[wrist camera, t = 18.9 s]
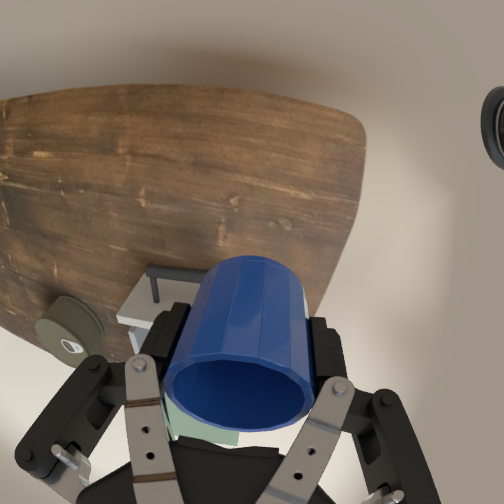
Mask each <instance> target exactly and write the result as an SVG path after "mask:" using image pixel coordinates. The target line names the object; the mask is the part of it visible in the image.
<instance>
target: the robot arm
mask: <svg viewBox="0 0 504 504" xmlns="http://www.w3.org/2000/svg"><path fill="white" fill-rule="evenodd" d="M493 132H494V138H495V143H496V146H497V148H498V151H499V153H500V154H501V156H502V157H503V158H504V98H503V99H502V100H501V101H500V102H499V103H498V105H497V107H496V110H495V113H494V119H493ZM190 308H191V306H190V304H189V303H182V302H174V304H173V306H172V308H171V310H170V311H166V310H163V311H162V312H161V313H160V314H159V315H157V316H156V318H155V320H154V322H153V325H152V326H151V328H150V331H149V332H148V334H147V336H146V338H145V340H144V342H143V344H142V346H141V348H140V350H139V352H138V354H135V355H133V356H131V357H130V358H128V360H127V361H126V362H122V363H108V362H107V360H106V359H105V358H104V357H103V356H101V355H91V356H88V357H86V358H85V359H84V360H83V361H82V362H81V363H80V365H79V366H78V367H77V368H76V370H75V371H74V372H73V373H72V374H71V376H70V377H69V378H68V379H67V381H66V382H65V383H64V384H63V386H62V387H61V388H60V389H59V391H58V392H57V393H56V394H55V396H54V397H53V398H52V399H51V401H50V402H49V404H48V405H47V406H46V407H45V409H44V410H43V411H42V413H41V414H40V415H39V417H38V418H37V419H36V421H35V422H34V423H33V425H32V426H31V427H30V429H29V430H28V431H27V433H26V434H25V435H24V437H23V438H22V440H21V441H20V442H19V444H18V445H17V447H16V449H15V460H16V462H17V464H18V465H19V467H20V468H22V469H23V470H25V471H26V472H28V473H29V474H30V475H31V476H33V477H34V478H36V479H37V480H39V481H40V482H42V483H44V484H45V485H47V486H49V487H50V488H52V489H53V490H54V491H56V492H57V493H58V494H59V495H61V496H62V497H63V498H65V499H66V500H68V501H69V502H70V503H72V504H336V503H335V502H334V501H333V500H332V499H331V498H330V497H329V496H328V495H327V494H326V493H325V491H324V490H323V489H322V488H321V487H320V486H319V485H318V482H319V480H320V478H321V476H322V474H323V472H324V470H325V468H326V466H327V464H328V462H329V460H330V457H331V455H332V453H333V451H334V449H335V446H336V444H337V442H338V439H339V437H340V434H341V431H344V432H348V433H351V434H352V437H353V440H354V444H355V447H356V451H357V454H358V458H359V461H360V464H361V468H362V471H363V475H364V478H365V482H366V486H367V489H368V493H369V495H368V496H367V497H366V498H365V499H364V500H363V502H362V503H361V504H441V502H440V499H439V496H438V493H437V490H436V487H435V484H434V482H433V479H432V476H431V473H430V471H429V468H428V466H427V463H426V460H425V458H424V455H423V452H422V450H421V447H420V445H419V442H418V440H417V437H416V435H415V433H414V430H413V428H412V425H411V423H410V421H409V418H408V416H407V414H406V412H405V409H404V407H403V405H402V402H401V400H400V398H399V396H398V395H397V394H396V393H395V392H393V391H392V390H389V389H380V390H377V391H376V392H375V393H374V394H372V393H368V392H364V391H361V390H358V389H356V388H355V387H354V385H353V384H352V382H351V381H349V380H348V377H347V372H346V366H345V360H344V355H343V350H342V346H341V345H342V344H341V340H340V336H339V334H338V333H337V332H336V330H335V329H331V328H327V325H326V319H325V318H323V317H309V327H310V338H311V349H312V361H313V374H314V387H315V401H314V403H313V405H312V407H311V412H310V414H309V415H308V417H307V419H306V421H305V422H304V424H303V426H302V428H301V430H300V432H299V434H298V435H297V437H296V439H295V441H294V443H293V444H292V446H291V448H290V450H289V451H288V453H287V455H286V456H285V455H282V454H279V448H271V447H258V446H251V447H243V448H234V449H227V448H223V447H221V446H218V445H215V444H213V443H211V442H208V441H206V440H203V439H198V438H192V437H187V436H182V435H179V437H178V440H175V437H174V434H173V431H172V427H171V423H170V418H169V413H168V408H167V403H166V398H165V392H166V391H165V388H164V384H163V378H164V375H165V373H166V370H167V367H168V365H169V362H170V359H171V357H172V354H173V351H174V349H175V346H176V343H177V341H178V338H179V336H180V333H181V331H182V328H183V325H184V323H185V320H186V318H187V315H188V313H189V310H190ZM122 405H124V411H125V421H126V430H127V438H128V445H129V453H130V459H131V461H130V462H128V463H126V464H125V465H123V466H121V467H120V468H118V469H117V470H115V471H113V472H111V473H110V474H108V475H106V476H105V477H103V478H101V479H99V480H98V481H96V482H94V483H92V484H91V485H89V481H88V480H89V475H90V472H91V464H90V462H89V460H88V458H89V456H90V454H91V453H92V451H93V450H94V448H95V446H96V445H97V443H98V442H99V440H100V439H101V437H102V435H103V434H104V432H105V431H106V429H107V427H108V426H109V424H110V423H111V421H112V420H113V418H114V417H115V415H116V413H117V412H118V410H119V409H120V407H121V406H122Z"/></svg>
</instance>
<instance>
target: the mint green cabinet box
mask: <svg viewBox="0 0 504 504" xmlns="http://www.w3.org/2000/svg"><path fill="white" fill-rule="evenodd" d="M165 398H166V403H167V408H168V413H169V418H170V423H171V427H172V431H173V434H174V435H176V436H179V435H182V436H187V437H192V438H198V439H203V440H206V441H208V442H213V443H219V444H226V445H234V446H237V443H238V436H239V431H232V430H224V429H221V428H217V427H214V426H211V425H208V424H205V423H202V422H199V421H198V420H196V419H194V418H192V417H190V416H189V415H187V414H185V413H184V412H182V411H181V410H179V409H178V407H177V406H176V405H175V404H174V403H173V402H172V401H171V400H170V399H169V398H168V396H167V394H166V392H165Z"/></svg>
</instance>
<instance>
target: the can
mask: <svg viewBox="0 0 504 504" xmlns="http://www.w3.org/2000/svg"><path fill="white" fill-rule="evenodd" d="M35 329H36V333H37V335H38V337H39V339H40V341H41V342H42V344H43V345H44V346H45V347H46V349H47V350H48V351H49V352H50V353H51V354H52V355H54V356H55V357H56V358H57V359H58V360H60V361H61V362H63V363H65V364H66V365H68V366H71V367H73V368H77V367H78V366H79V365H80V363H81V362H82V361H83V360H84V359H85V358H86V357H88V356H91V355H94V353H95V352H96V350H97V348H98V346H99V345H100V343H101V341H102V340H103V338H104V330H103V326H102V324H101V322H100V320H99V319H98V317H97V316H96V315H95V314H94V312H93V311H92V310H91V309H90V308H89V307H87V306H86V305H85V304H84V303H82V302H81V301H79V300H77V299H75V298H73V297H70V296H60V297H58V298H57V299H56V300H55V302H54V303H53V304H52V305H51V306H50V307H49V308H48V310H47V311H46V312H45V313H44V314H43V315H42V316H41V318H39V319H38V320H37V321H36V323H35Z"/></svg>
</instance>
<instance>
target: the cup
mask: <svg viewBox="0 0 504 504" xmlns="http://www.w3.org/2000/svg"><path fill="white" fill-rule="evenodd" d="M163 384H164V388H165V391H166V394H167V396H168V398H169V399H170V400H171V401H172V402H173V403H174V404H175V405H176V406H177V407H178V409H179V410H181V411H182V412H184V413H185V414H187V415H189V416H190V417H192V418H194V419H196V420H198V421H199V422H202V423H205V424H208V425H211V426H214V427H217V428H221V429H224V430H232V431H240V432H261V431H272V430H276V429H279V428H283V427H286V426H289V425H292V424H294V423H296V422H297V421H299V420H300V419H301V418H303V417H304V416H306V415H307V414H308V413H309V411H310V409H311V407H312V405H313V403H314V401H315V387H314V374H313V361H312V349H311V338H310V327H309V317H308V307H307V302H306V296H305V291H304V289H303V286H302V284H301V282H300V280H299V279H298V278H297V276H296V275H295V274H294V273H293V272H292V271H291V270H290V269H288V268H287V267H285V266H284V265H282V264H280V263H279V262H277V261H274V260H272V259H269V258H265V257H260V256H249V255H247V256H238V257H233V258H229V259H226V260H224V261H222V262H220V263H218V264H217V265H215V266H214V267H212V268H211V269H210V270H209V271H208V272H207V274H206V275H205V276H204V278H203V280H202V282H201V284H200V287H199V289H198V291H197V293H196V295H195V298H194V300H193V303H192V305H191V308H190V310H189V313H188V315H187V318H186V320H185V323H184V325H183V328H182V331H181V333H180V336H179V338H178V341H177V343H176V346H175V349H174V351H173V354H172V357H171V359H170V362H169V365H168V367H167V370H166V373H165V375H164V378H163Z"/></svg>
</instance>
